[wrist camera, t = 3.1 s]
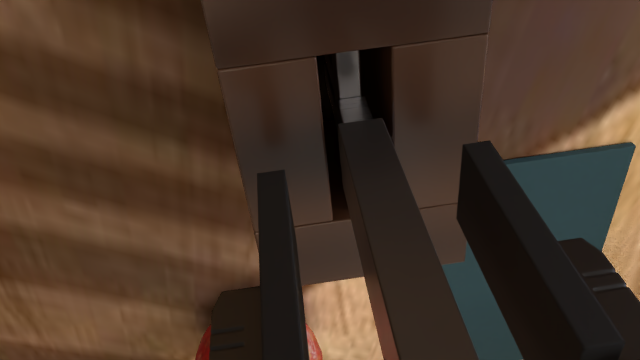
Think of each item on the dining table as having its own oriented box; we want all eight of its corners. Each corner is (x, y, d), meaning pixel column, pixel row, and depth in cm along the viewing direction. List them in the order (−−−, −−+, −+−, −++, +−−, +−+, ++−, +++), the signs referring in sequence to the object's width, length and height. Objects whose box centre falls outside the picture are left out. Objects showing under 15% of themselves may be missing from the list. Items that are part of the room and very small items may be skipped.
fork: (308, -11, 21) (479, 574, 6) (348, -16, 21) (629, 549, 6) (321, 115, 25) (448, 687, 9) (356, 110, 25) (540, 672, 9)
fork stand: (206, -99, 19) (189, -47, 13) (428, -126, 19) (503, -88, 13) (263, 184, 27) (267, 291, 21) (420, 162, 27) (465, 262, 21)
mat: (396, 175, 27) (398, 179, 27) (631, 141, 28) (636, 146, 27) (397, 374, 38) (399, 379, 38) (566, 348, 38) (568, 352, 38)
